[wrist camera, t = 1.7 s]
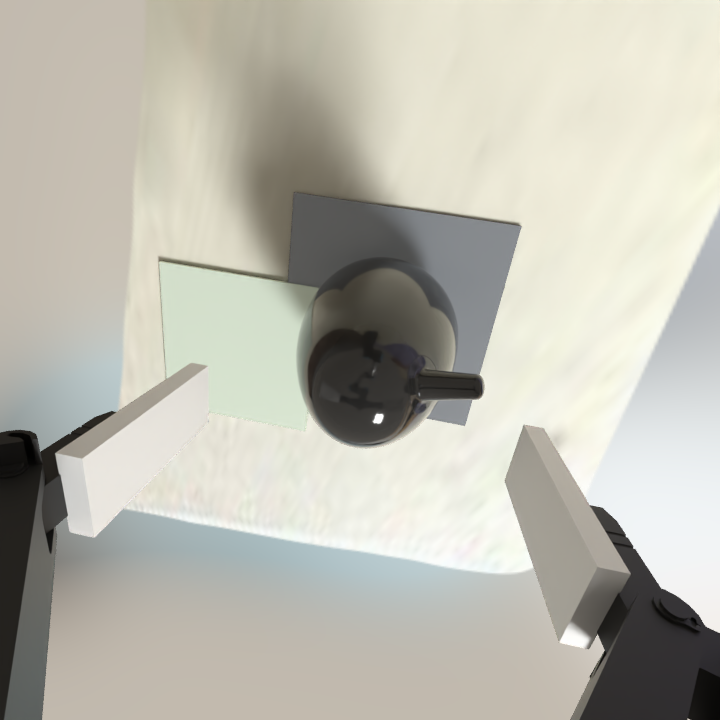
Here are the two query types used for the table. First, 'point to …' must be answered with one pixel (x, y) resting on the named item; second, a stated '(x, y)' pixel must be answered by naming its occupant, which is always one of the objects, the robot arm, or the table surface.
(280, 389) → the mat
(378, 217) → the tile
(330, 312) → the pump dispenser
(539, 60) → the table surface
